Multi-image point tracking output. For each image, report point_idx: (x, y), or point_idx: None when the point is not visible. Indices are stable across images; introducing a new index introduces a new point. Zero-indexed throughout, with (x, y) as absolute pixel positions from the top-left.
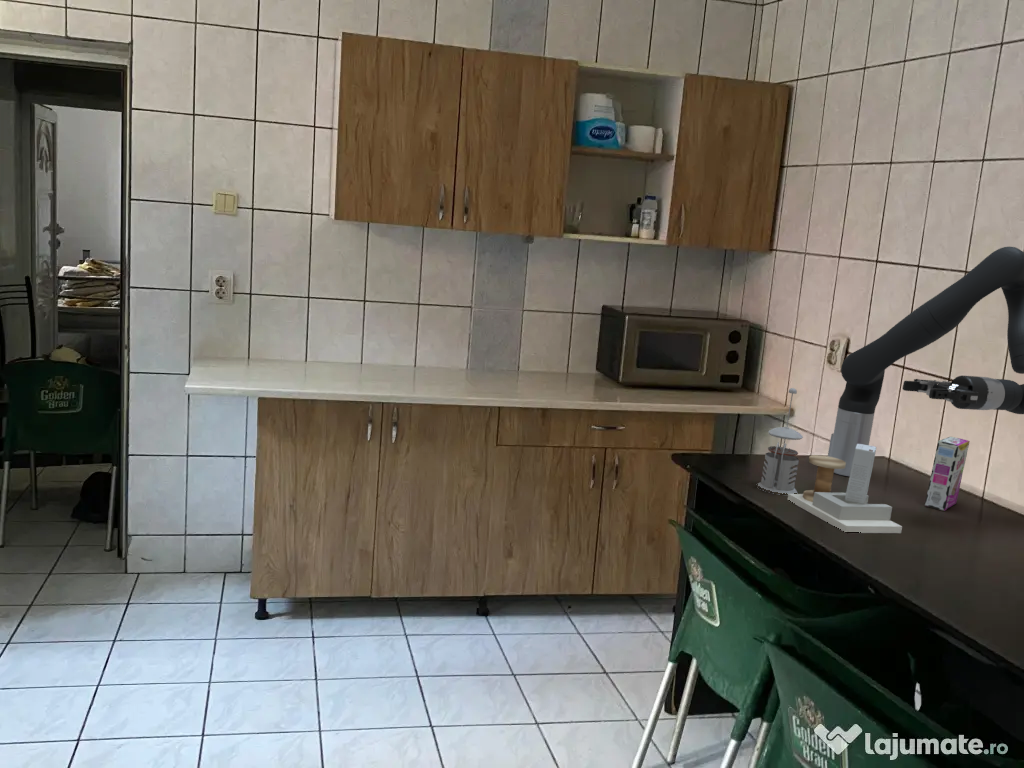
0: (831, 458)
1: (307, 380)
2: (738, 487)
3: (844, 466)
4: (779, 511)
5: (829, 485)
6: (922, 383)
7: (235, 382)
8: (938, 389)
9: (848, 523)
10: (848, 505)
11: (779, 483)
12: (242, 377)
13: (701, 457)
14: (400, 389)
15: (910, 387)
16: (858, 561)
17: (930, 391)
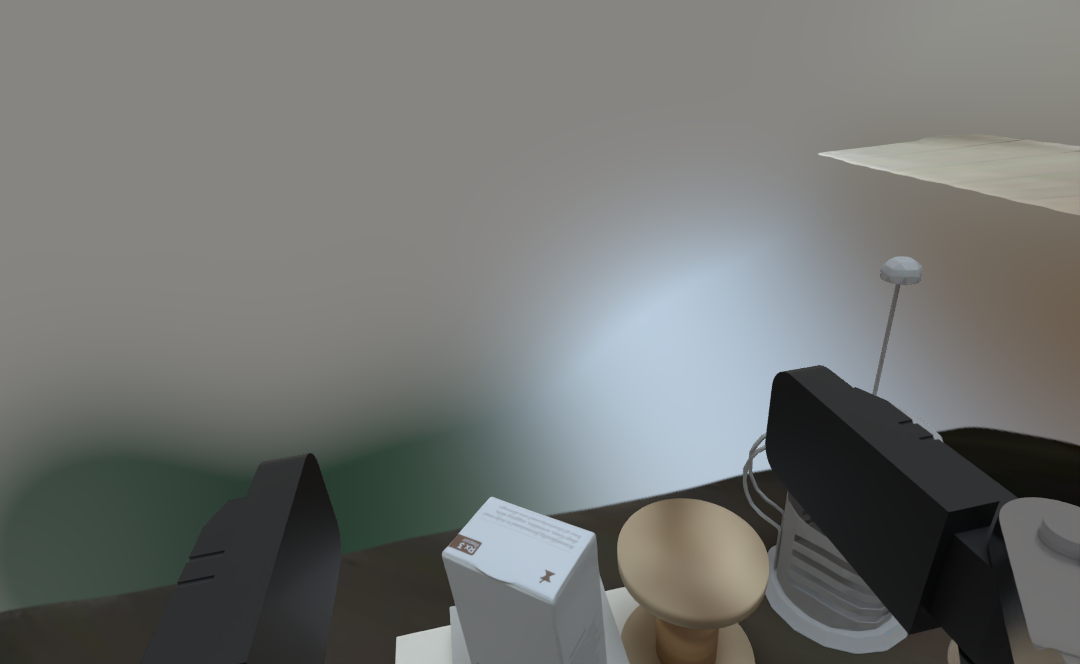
0: (730, 574)
1: (954, 165)
2: (764, 491)
3: (648, 606)
4: None
5: (661, 629)
6: (999, 586)
7: (863, 156)
8: (239, 521)
9: (421, 653)
10: (462, 635)
11: (775, 553)
12: (895, 153)
13: (1077, 465)
14: (1037, 192)
15: (820, 480)
16: None
17: (314, 477)
